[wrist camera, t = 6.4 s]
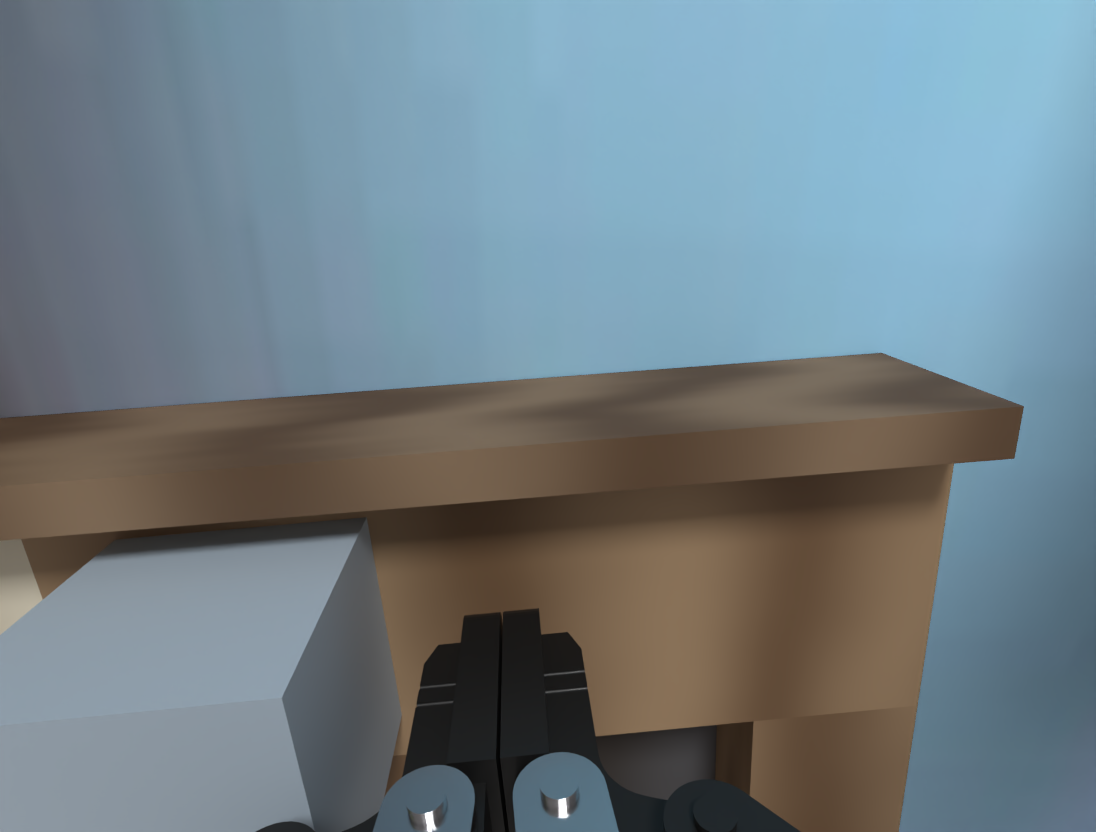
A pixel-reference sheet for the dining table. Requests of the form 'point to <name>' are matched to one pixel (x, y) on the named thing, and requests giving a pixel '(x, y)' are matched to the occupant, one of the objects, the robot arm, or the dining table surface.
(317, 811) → the block
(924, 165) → the dining table surface
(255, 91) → the dining table surface
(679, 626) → the box
